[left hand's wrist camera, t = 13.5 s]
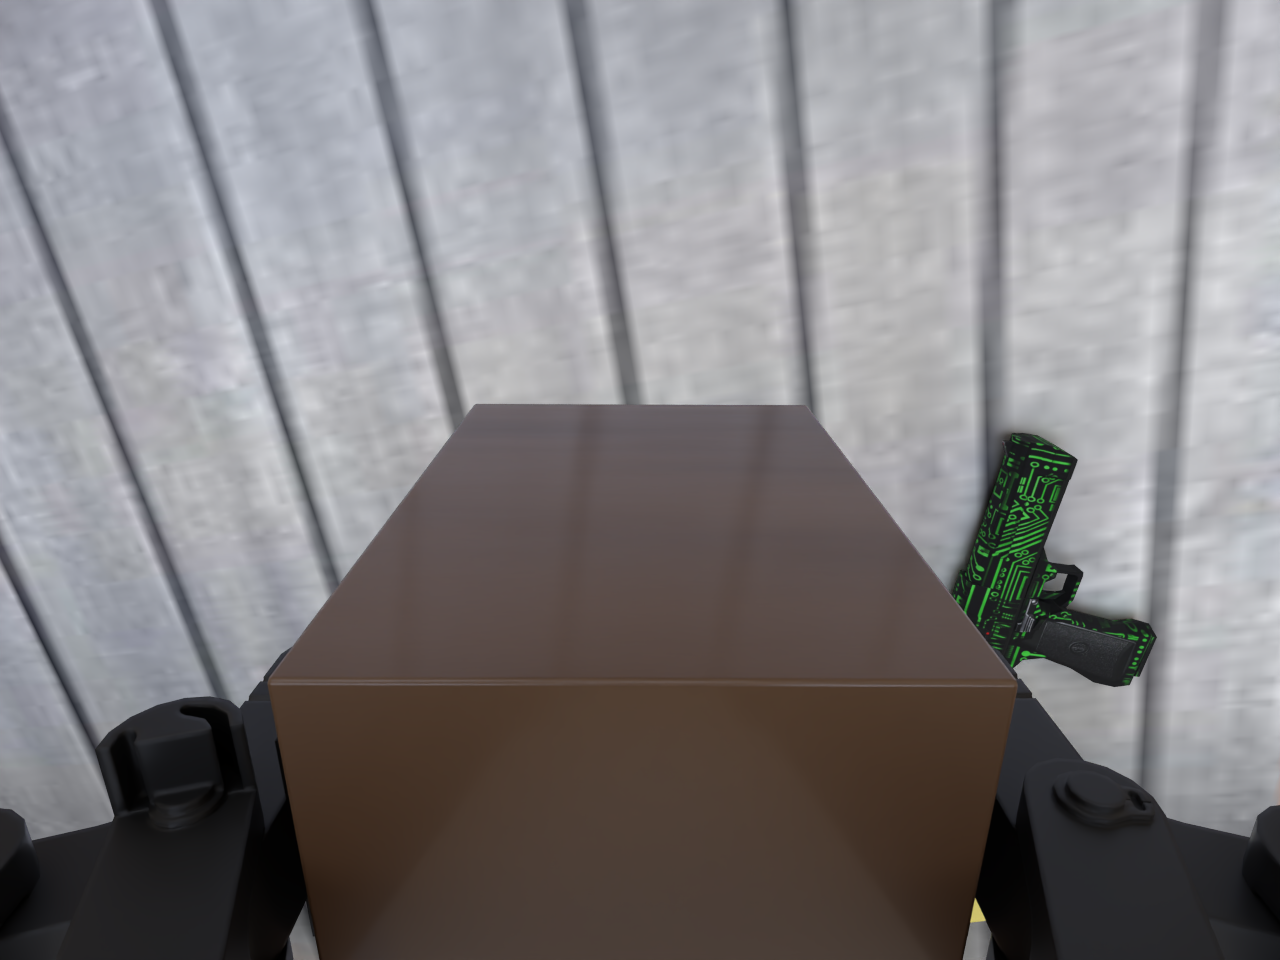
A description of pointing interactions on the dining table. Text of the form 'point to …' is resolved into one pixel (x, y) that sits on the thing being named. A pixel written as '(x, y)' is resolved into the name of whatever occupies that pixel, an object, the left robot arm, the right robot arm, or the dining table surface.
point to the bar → (641, 705)
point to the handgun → (1040, 576)
